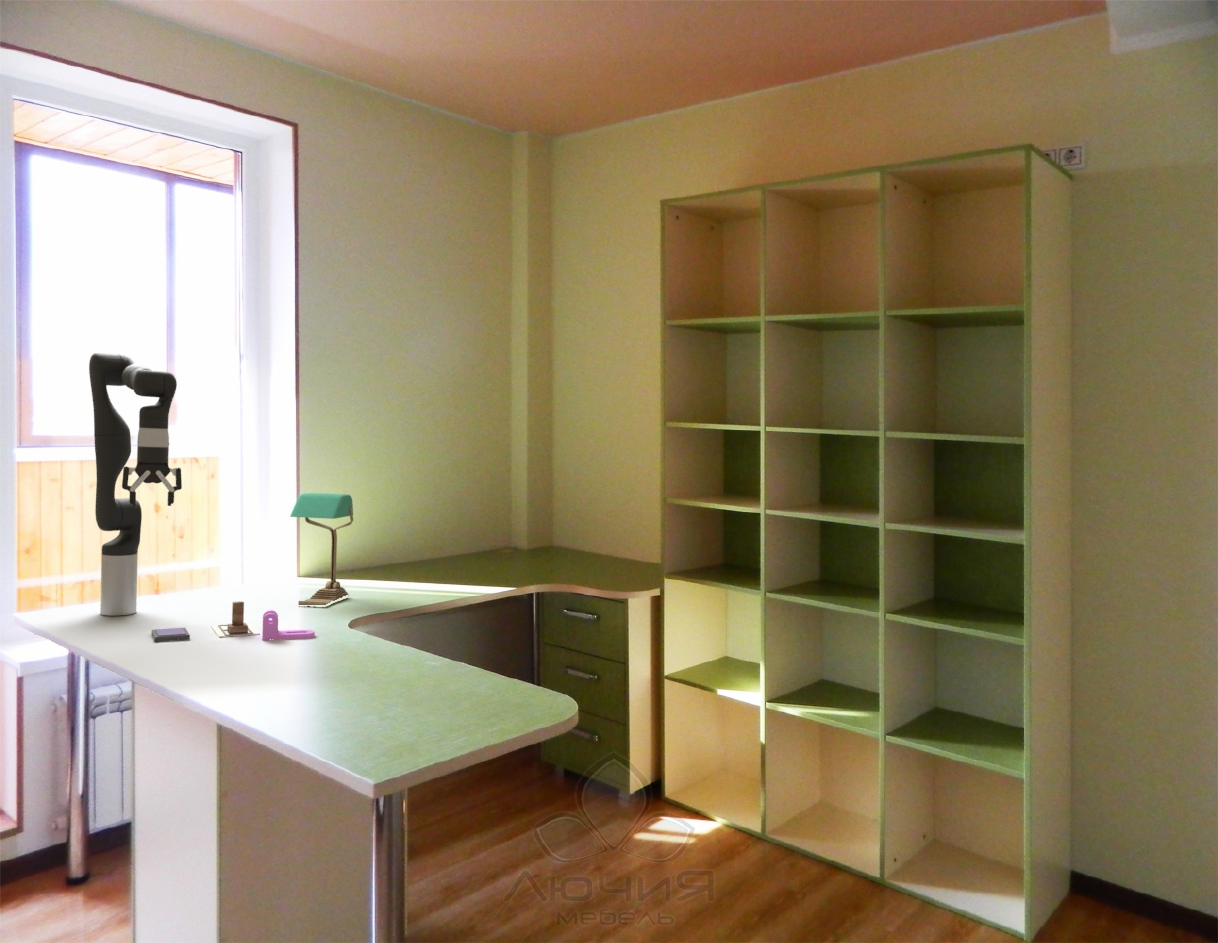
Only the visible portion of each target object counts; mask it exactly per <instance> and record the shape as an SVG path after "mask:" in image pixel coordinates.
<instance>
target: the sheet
mask: <svg viewBox="0 0 1218 943" xmlns="http://www.w3.org/2000/svg"><path fill="white" fill-rule="evenodd" d="M246 624H247V625H248V633H244V634H229V633H228V632H227V627H228V624H218V625H215V626H214V625H213V626H211V627H210V628H211V629H212V630H213V631H214V633H215V634H216V636H217V637H218V636H219V637H218V638H230V637H229V636H233V637H243V635H247V636H260V632H259V631H258V630H257V629H256V628H255V627H254V625H252V624H251V623H246ZM241 635H242V636H241Z"/></svg>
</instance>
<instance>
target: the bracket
mask: <svg viewBox="0 0 1218 943" xmlns="http://www.w3.org/2000/svg"><path fill="white" fill-rule="evenodd" d="M315 634H316V632H315V630H312V629H292V630H291V629H289V630H287V629H286V630H279V615H278V613H277V611H275V610H273V609H269V610H267V611H265V612H264V613H263V616H262V636H261V637H262V639H261V640H262V641H278V640H279V641H283V639H286V640H304V639H306V638H308V639H312V637H313V638H315V637H314V636H316V635H315ZM270 639H271V640H270ZM272 639H274V640H272ZM280 639H281V640H280Z"/></svg>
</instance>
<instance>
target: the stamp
mask: <svg viewBox="0 0 1218 943" xmlns="http://www.w3.org/2000/svg"><path fill="white" fill-rule="evenodd" d="M231 610H232V613H231V616H232V617H231V619H232V620H231V622H232V623H227V625H228V627H227V632H228V633H229V634H244V633H248V625H247V624H248V623H246V622H244V621H245V620H244V617H245V616H244V615H245V614H244V613H245V602H244V601H233V602H232V609H231Z"/></svg>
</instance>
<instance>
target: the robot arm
mask: <svg viewBox="0 0 1218 943" xmlns="http://www.w3.org/2000/svg"><path fill="white" fill-rule="evenodd" d="M88 372H89V373H88V374H89V382H90V389H91V391H90V392H91V397H92V407H93V423H94V424H93V428H94V432H93V434H94V435H93V437H94V452H95V467H96V468H95V469H96V488H95V509H94V510H95V522H96V524H97V526H98V528H99V529H100V530H101V531H103V532H115V531H116V532H117V531H118V532H119V534H118V535H117V536H115V538H112V540H110V541H108V542H105V543H103V544H102V546H101V558H100V559H101V566H100V567H101V569H100V570H101V571H100V572H101V573H100V605H99V606H100V609H99V610H100V612H99V613H100V615H102V616H113V617H115V616H128V615H133V614H136V613H137V606H138V603H137V600H138V599H137V598H138V559H139V558H138V556H139V555H138V551H139V550H138V549H139V546H140V542H141V532H142V531H141V530H142V529H141V528H142V520H143V518H142V516H143V513H142V512H143V511H142V506H141V504H140V502H139V501H138V500H137V492H136V490H137V489H138V487H140V486H141V485H142V484H143V483H145V484H153V483H154V484H161V483H162V484H163V485H164V486H165V488H166V489H167V490H168V491H167V506H168V507H171V506H172V505H173V504H174V503H175V492H177V491H180V490H181V489H182V488H183V487H182V486H183V485H182V484H183V483H182V468H181V467H174V468H173V467H170V466H169V452H170V450H169V449H170V448H169V446H170V435H169V416H170V410H171V405H172V403H173V400H174V396H175V394H176V390H177V385H178V384H177V383H178V381H177V378H176V377H175V375H174V374H173V373H171V372H169V371H158V370H152V369H150V368H149V367H145V366H143V365H140V364H139V363H137V362H136V361H135V360H134V359H133V358H131V357H130V356H128V355H126V354H119V353H105V352H103V353H102V352H96V353H93V354H92V355H91V356H90V359H89V364H88ZM107 386H113V387H123V386H126V388H128V389H130V390H132V391H133V392H134V394H135V395H137V396H140V397H149V398H158V400H157V402H156V403H155V404H152V405H144V406H141V407H140V408H139V412H138V413H139V414H138V415H139V416H138V433H137V441H136V442H137V446H136V447H137V448H136V449H137V450H136V451H137V454H136V466H135V467H132V466H131V467H130V466H126V464H128V463H127V462H128V460H129V459H130V456H131V453H132V441H131V440H132V439H131V438H132V437H131V435H132V434H131V431H130V427H129V425H128V424H127V422H126V421H125V420H124V417H122V415H121V414H120V413H119V412H118V410H117V409H116V408H115V405H114V404H113V403H112V401H111V398H110V397H109V392H108V388H107ZM134 472H135V474H136V475H137V479H135V481H134V482H133V484H132V485H129V476H131V475H132V474H133V473H134ZM121 473H122V479H121V480H122V482H121V488H122V489H123V490H126V491H128V492H129V497H128V498H127V497H125V498H124V497H123V498H115V497H116V496H115V495H116V493H115V492H116V484H117V482H118V481H117V480H118V479H119V476H120V474H121ZM170 473H172V476H175V485H172V484H171V483H170V481H169V480H168V479H167V478H166V477H168V475H169V474H170Z"/></svg>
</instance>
